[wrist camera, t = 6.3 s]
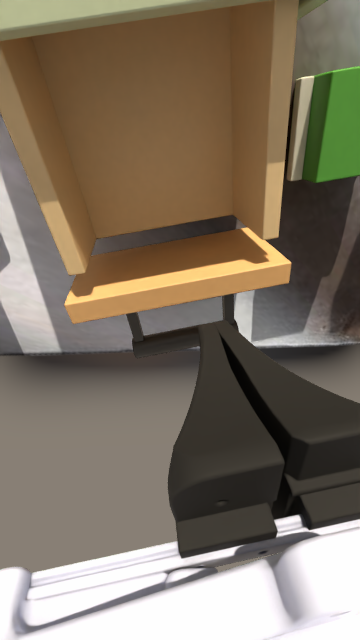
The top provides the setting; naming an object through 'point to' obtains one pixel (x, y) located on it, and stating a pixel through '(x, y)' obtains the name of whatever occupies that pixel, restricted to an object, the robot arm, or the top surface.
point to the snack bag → (326, 127)
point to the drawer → (157, 154)
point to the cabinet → (102, 13)
